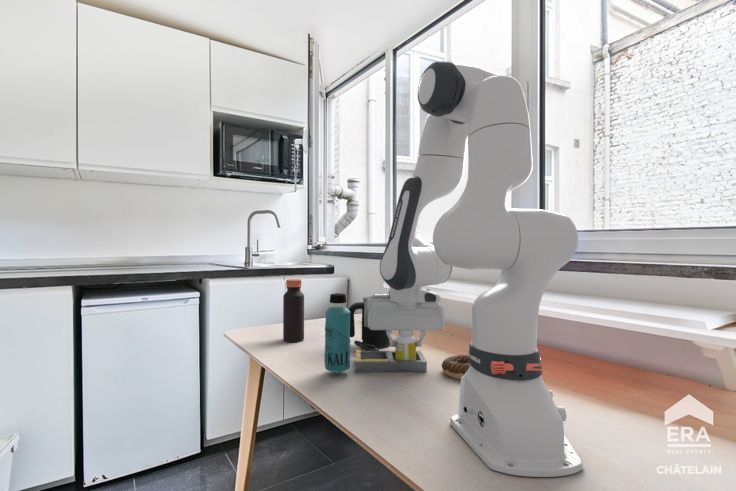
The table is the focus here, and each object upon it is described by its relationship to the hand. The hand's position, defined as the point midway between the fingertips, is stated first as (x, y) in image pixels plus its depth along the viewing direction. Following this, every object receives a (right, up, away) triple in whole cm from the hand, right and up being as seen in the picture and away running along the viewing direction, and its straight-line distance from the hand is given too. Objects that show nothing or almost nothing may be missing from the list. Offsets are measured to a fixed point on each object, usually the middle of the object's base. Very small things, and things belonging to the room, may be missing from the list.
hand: (405, 346), depth 101 cm
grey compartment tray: (-4, -5, 0) cm, 7 cm away
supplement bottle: (0, -5, 0) cm, 5 cm away
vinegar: (-35, -5, +25) cm, 43 cm away
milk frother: (-8, -5, +16) cm, 19 cm away
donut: (+14, -6, -6) cm, 16 cm away
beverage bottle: (-18, -5, -7) cm, 20 cm away
